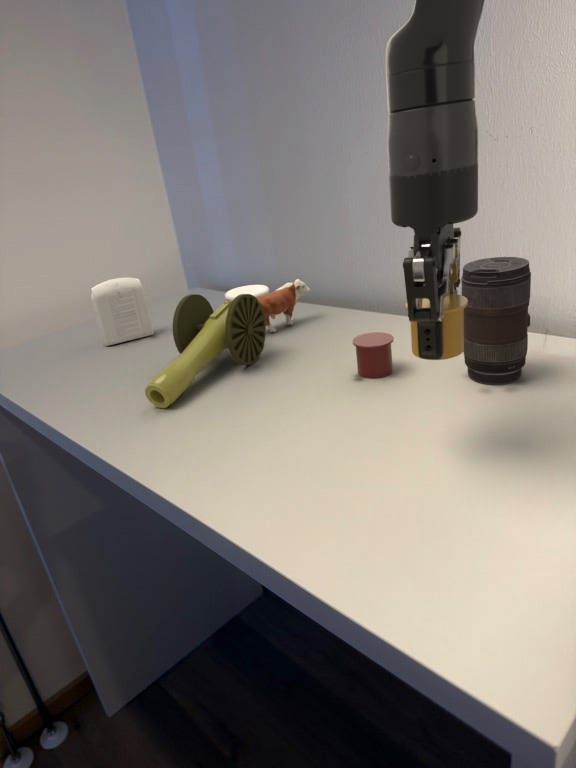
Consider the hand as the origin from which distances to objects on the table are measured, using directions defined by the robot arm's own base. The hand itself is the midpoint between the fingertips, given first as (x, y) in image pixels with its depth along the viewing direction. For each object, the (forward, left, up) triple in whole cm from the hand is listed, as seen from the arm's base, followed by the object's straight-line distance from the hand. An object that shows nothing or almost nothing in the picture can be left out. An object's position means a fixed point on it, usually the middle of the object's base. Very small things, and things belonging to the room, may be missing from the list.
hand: (437, 345), depth 54 cm
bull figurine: (0, -52, -12) cm, 53 cm away
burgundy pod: (-4, -22, -12) cm, 25 cm away
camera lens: (-16, -11, -12) cm, 23 cm away
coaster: (+1, -72, -12) cm, 73 cm away
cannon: (+18, -37, -12) cm, 43 cm away
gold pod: (0, 0, -1) cm, 1 cm away
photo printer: (+28, -67, -12) cm, 74 cm away
